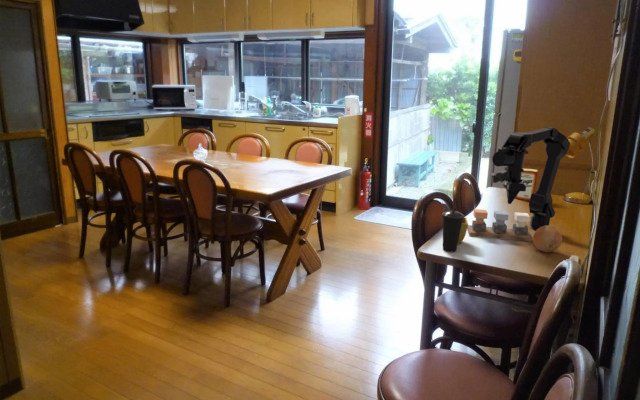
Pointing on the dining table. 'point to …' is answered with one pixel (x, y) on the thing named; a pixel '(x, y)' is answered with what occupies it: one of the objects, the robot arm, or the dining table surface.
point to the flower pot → (463, 230)
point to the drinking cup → (451, 228)
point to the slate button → (500, 217)
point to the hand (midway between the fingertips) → (509, 203)
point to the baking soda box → (528, 184)
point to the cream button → (521, 219)
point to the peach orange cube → (480, 216)
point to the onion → (547, 238)
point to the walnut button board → (499, 231)
